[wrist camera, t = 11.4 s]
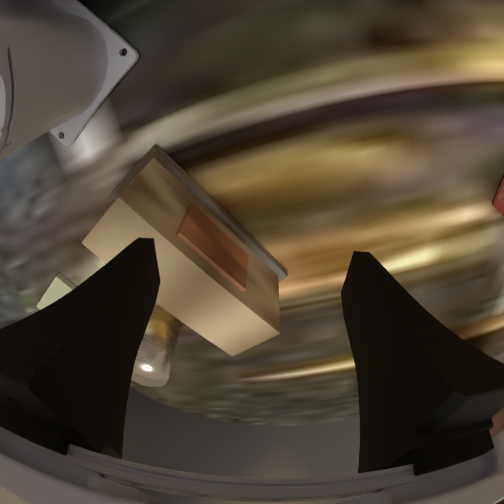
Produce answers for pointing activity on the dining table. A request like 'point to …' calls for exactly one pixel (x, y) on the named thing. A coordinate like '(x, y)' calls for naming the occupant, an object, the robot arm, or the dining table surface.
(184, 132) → the dining table surface
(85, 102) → the robot arm
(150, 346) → the grey shiny short cylinder
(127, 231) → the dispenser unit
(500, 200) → the ink cartridge box
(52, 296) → the mat
